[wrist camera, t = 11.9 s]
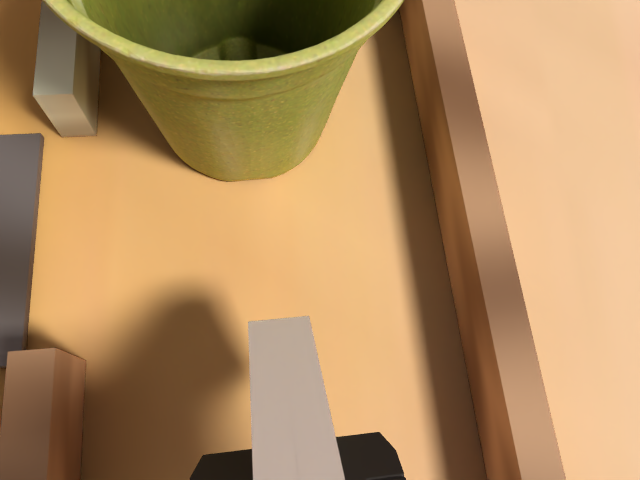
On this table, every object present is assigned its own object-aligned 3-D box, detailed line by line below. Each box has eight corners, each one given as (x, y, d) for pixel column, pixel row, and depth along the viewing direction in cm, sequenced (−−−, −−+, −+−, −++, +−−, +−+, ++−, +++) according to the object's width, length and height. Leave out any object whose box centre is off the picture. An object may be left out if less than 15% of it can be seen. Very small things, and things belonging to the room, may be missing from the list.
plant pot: (414, 94, 21) (501, -121, 13) (271, 281, 18) (269, 152, 10) (224, -23, 22) (196, -285, 14) (61, 134, 19) (-94, -87, 11)
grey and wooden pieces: (610, 881, 13) (741, 1053, 10) (-397, 1095, 11) (-745, 1435, 7) (420, -23, 23) (448, -112, 20) (-132, -17, 21) (-221, -116, 17)
